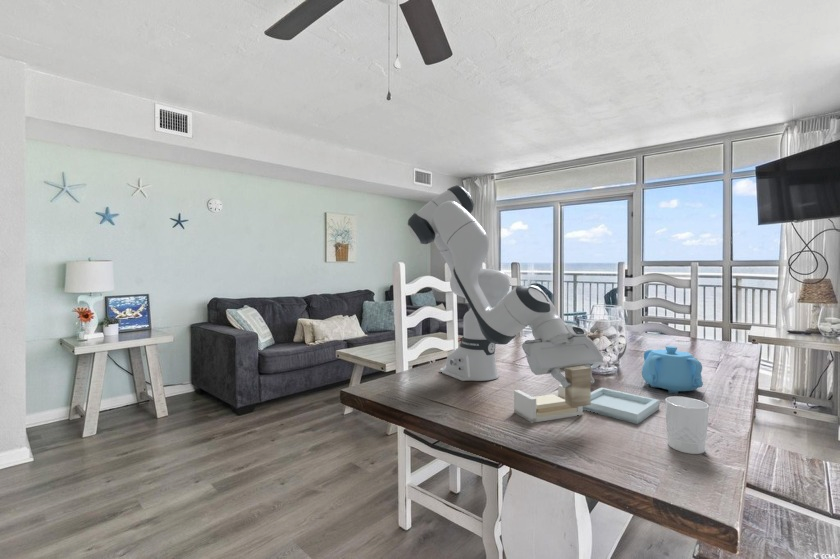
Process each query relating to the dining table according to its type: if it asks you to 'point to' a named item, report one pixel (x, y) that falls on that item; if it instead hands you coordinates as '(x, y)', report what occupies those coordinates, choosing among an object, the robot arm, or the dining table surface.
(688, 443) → the white cup
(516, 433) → the dining table surface
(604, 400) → the ceramic tray
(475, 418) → the dining table surface
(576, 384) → the upright wood block
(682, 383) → the decorative pot
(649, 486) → the dining table surface
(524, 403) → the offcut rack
